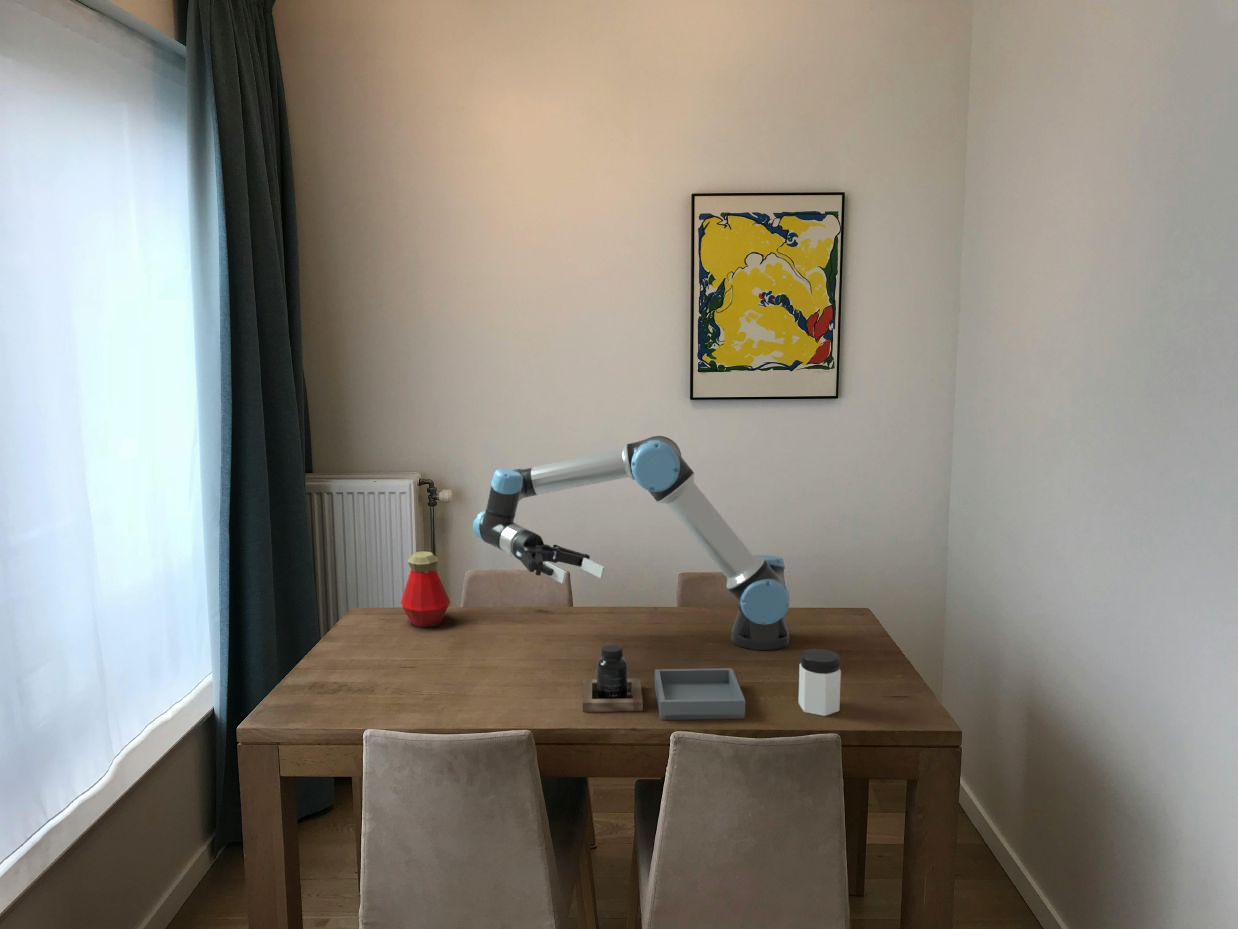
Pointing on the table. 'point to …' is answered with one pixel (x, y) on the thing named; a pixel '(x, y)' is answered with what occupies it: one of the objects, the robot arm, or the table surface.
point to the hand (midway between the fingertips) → (584, 575)
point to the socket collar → (612, 704)
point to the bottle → (424, 592)
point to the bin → (698, 694)
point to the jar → (819, 682)
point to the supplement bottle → (612, 673)
